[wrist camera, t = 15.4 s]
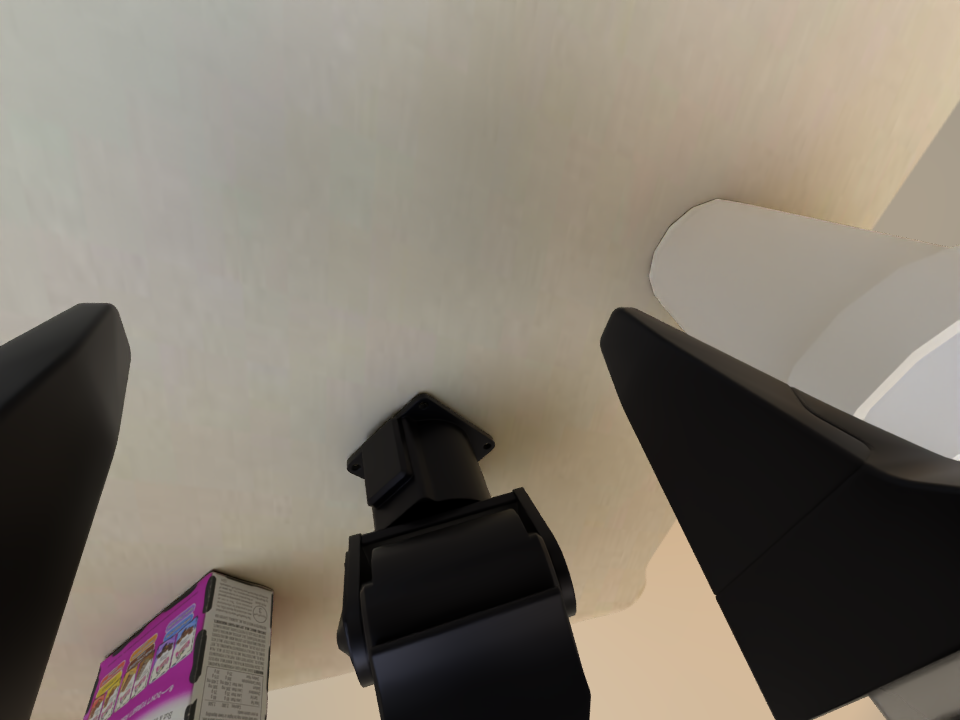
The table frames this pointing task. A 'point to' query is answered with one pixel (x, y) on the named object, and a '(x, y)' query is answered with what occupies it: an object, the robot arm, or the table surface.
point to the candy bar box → (193, 659)
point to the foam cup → (824, 311)
